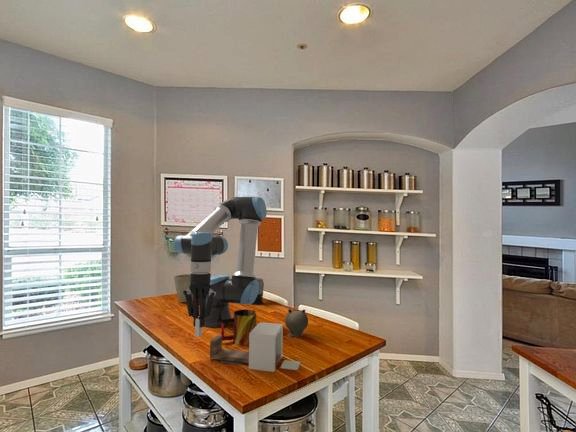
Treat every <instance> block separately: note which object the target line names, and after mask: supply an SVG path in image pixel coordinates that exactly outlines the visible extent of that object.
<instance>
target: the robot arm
mask: <svg viewBox="0 0 576 432" xmlns="http://www.w3.org/2000/svg"><path fill="white" fill-rule="evenodd" d="M267 215H268V214H267V205H266V201H265V200H264V199H263V197H260V196H234V197H230V198H228V199H225V200H224V201H222V202H221V203H219V204H217V206H215V207H214V209H213V212H211V213H210V214H209V215H207V216H206V218H204V219H203V220H202V221H201V222H200V223H198V224H197V225H196V226H195V227H194V228H192V229H191V230H190V231H189V232H188V233H187V234H185V235H184V234H182V235H177V236H176V237H175V238H174V240H173V242H172V243H173V244H172V245H173V250H174V251H175V252H176V253H178V254H183V255H184V254H185V255H187V254H189V255H190V270H189V271H190V272H191V273H189V274H190V286H189V289H187V290H185V291H183V293H184V295H185V297H186V306H187V308H186V309H187V312H188V316H189V317H192V318H193V322H192V323H193V327H195V328H194V337H197V338H199V337H200V336H202V335H203V327H208V328H220V327H221V328H222V319H227V318H233V315H232V313H231V310H230V307H229V304H237V305H243V306H245V305H253V304H252V303H253V302H254V301H255V299H256V298H257V295H258V291H259V283H258V281H256V280H255V279H256V278H257V277H256V275H255V274H254V266H255V258H256V257H255V256H256V250H257V249H256V248H257V240H258V230H259V226H260V225H262V220H265V219H266V217H267ZM231 220H238V222H239V223H240V232H239V233H240V234H239V242H238V251H237V259H236V265H235V266H236V267H235V272H234V273H233V274H232V275H231V278H230V275H228V274H221V275H219V274H218V275H212V273H211V271H212V256H220V255H223V254H224V253H226V252H227V250H228V248H229V242H228V240H227V239H226V238H225V237H223V236H221V235H220V236H219V235H216V236H213V234H214V233H215V232H216V231H217V230H218V229H219V228H220V227H221V226H222V225H223V224H224V223H227V222H229V221H231ZM211 275H212V276H211ZM191 293H192V294H193V300H192V295H191ZM230 324H231V323H224V327H225V326H228V325H230Z"/></svg>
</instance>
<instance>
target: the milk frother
mask: <svg viewBox="0 0 576 432" xmlns="http://www.w3.org/2000/svg"><path fill="white" fill-rule="evenodd" d="M255 280H256V281H258V283H259V291H258V295H257V298H256V299H255V301H254V302H253V303H252V304H251V305H255V306H256V305H262V304H263V303H264V301H263V300H264V298H263V297H264V286H265V285H264V279H263V278H261V277H256V279H255Z"/></svg>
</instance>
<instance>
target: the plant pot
mask: <svg viewBox="0 0 576 432" xmlns="http://www.w3.org/2000/svg"><path fill="white" fill-rule="evenodd" d="M190 274H191V273H185V274H183V273H182V274H177V275H174V276H173V278H174V279H173V280H174V286H175V291H176V292H175V293H176V295H177V298H178V300H179V303H182V302H186V297H185V295H184V293H183V291H185V290H187V289H189V286H190ZM191 295H192V300H193V294H192V293H191ZM193 301H194V300H193Z"/></svg>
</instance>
